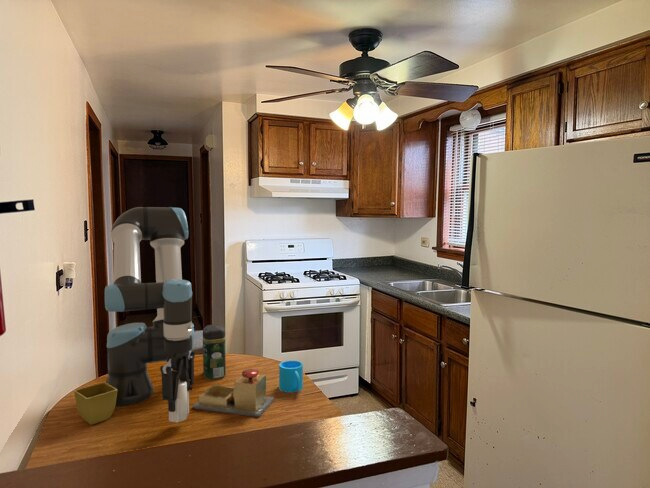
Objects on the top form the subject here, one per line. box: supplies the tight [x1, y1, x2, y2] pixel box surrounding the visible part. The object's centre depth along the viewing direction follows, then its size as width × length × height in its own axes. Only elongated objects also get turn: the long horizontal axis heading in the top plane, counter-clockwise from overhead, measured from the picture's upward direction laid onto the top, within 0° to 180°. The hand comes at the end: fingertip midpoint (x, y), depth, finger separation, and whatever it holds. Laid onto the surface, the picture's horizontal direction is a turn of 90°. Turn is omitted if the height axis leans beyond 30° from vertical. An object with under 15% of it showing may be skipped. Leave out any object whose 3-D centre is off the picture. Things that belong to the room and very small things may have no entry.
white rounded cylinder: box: [177, 380, 188, 423], centre depth 123 cm, size 4×4×10 cm
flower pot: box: [73, 381, 118, 425], centre depth 127 cm, size 9×9×9 cm
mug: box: [278, 360, 304, 393], centre depth 150 cm, size 12×8×8 cm
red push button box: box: [192, 368, 275, 418], centre depth 138 cm, size 22×12×11 cm, turn 75°
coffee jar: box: [202, 323, 227, 380], centre depth 162 cm, size 10×8×19 cm
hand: (179, 416), depth 124 cm, fingers closed on white rounded cylinder, 4 cm apart
